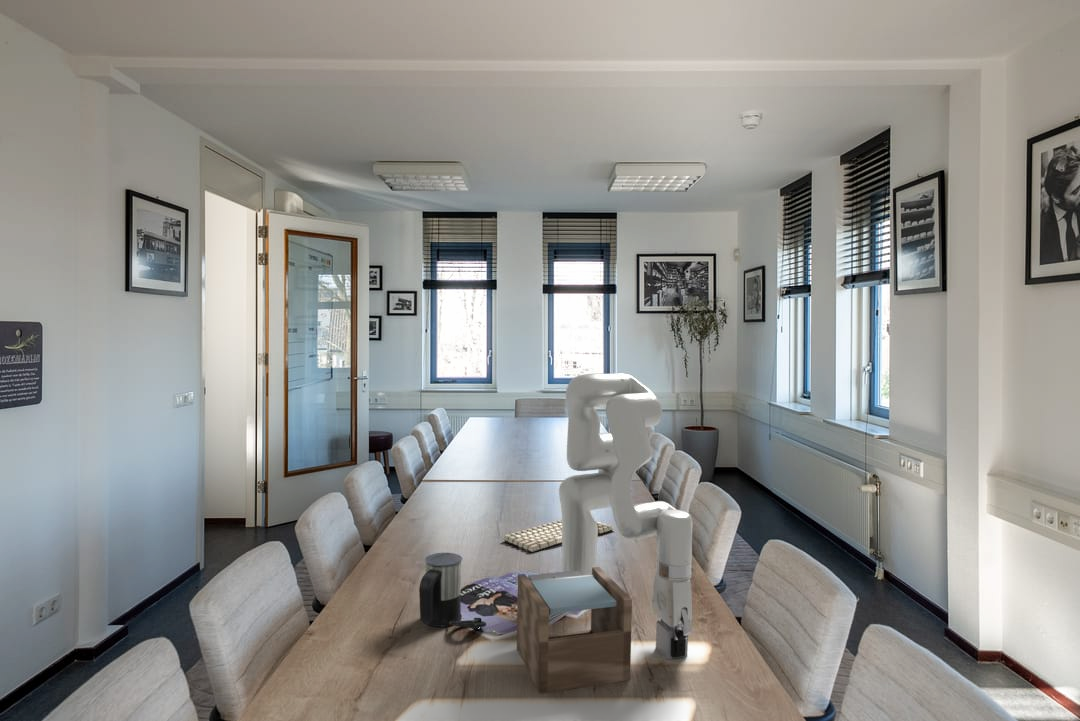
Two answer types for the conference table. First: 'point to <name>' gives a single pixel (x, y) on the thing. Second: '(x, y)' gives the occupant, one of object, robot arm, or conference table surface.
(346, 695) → the conference table surface
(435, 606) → the milk frother
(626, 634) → the stand
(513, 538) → the mechanical keyboard
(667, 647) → the grey cube-like block
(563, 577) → the trapdoor
